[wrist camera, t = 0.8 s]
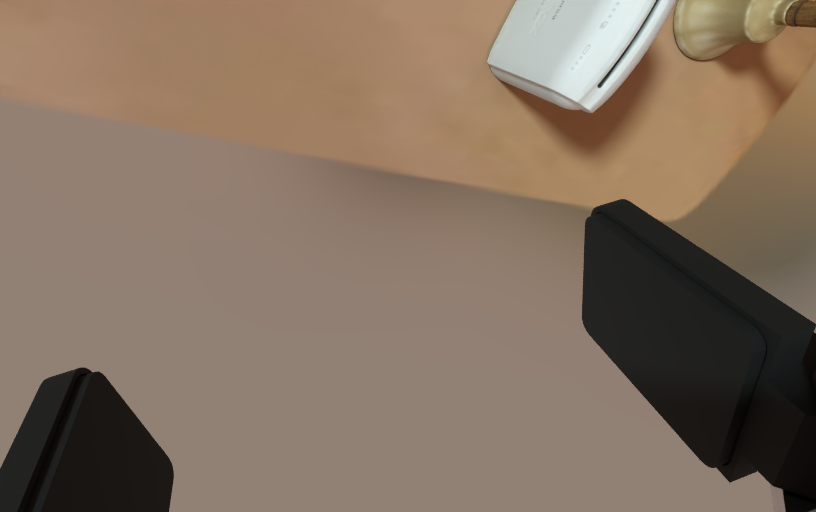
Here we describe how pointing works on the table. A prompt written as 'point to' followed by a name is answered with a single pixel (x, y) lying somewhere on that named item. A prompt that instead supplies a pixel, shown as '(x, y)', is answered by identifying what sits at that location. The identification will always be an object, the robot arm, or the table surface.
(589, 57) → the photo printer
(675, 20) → the hand bell
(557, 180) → the table surface
